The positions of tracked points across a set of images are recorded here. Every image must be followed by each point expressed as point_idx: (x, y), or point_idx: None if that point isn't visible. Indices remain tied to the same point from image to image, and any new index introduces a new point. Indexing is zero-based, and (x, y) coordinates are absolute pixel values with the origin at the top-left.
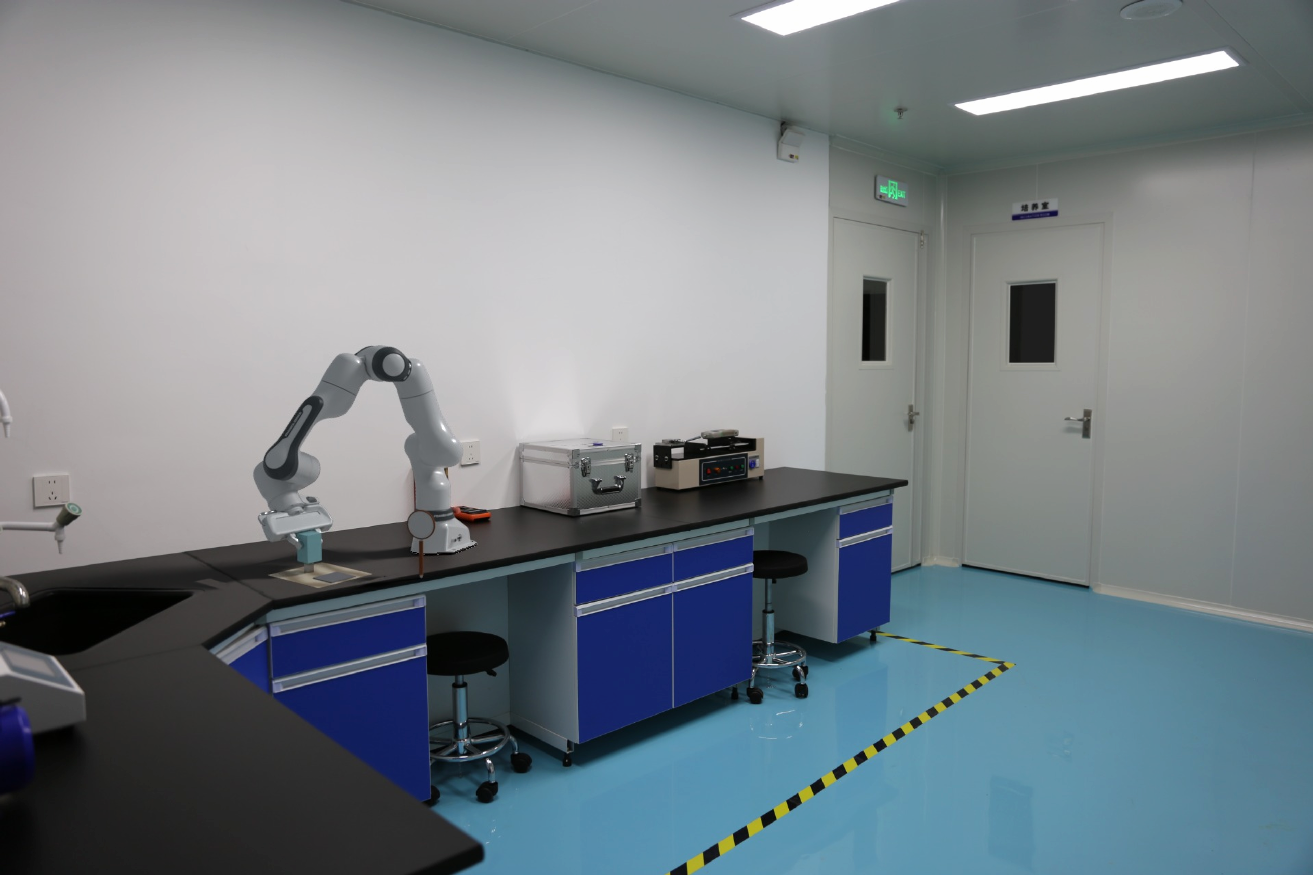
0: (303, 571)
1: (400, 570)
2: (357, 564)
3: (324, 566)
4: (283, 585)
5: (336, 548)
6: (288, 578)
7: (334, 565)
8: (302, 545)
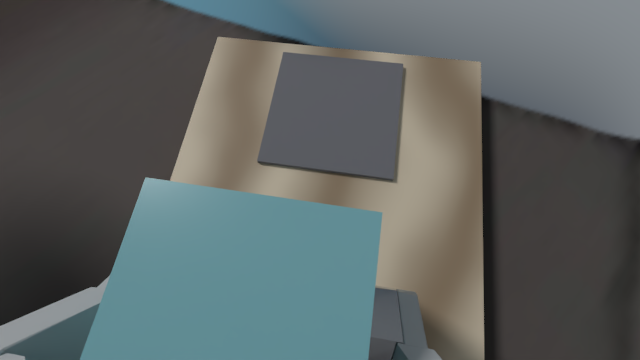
0: None
1: (84, 49)
2: (25, 258)
3: None
4: None
5: None
6: (459, 288)
7: None
8: (385, 288)
